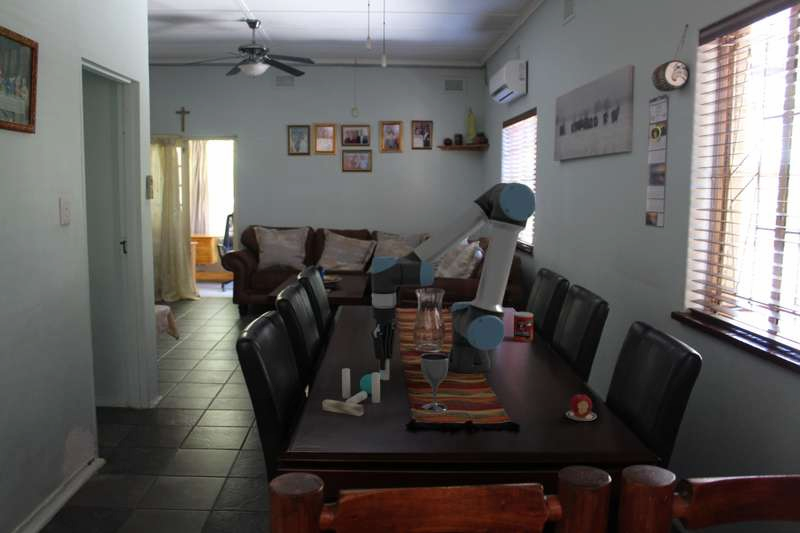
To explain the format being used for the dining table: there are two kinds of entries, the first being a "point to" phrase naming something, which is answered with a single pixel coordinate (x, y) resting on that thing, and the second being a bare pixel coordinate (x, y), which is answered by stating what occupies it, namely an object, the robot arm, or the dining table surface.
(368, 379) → the ball
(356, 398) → the front pin
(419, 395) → the dining table surface
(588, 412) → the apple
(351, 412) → the backstop
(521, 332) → the canned food
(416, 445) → the dining table surface
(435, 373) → the wine glass
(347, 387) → the far back pin
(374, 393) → the near back pin
